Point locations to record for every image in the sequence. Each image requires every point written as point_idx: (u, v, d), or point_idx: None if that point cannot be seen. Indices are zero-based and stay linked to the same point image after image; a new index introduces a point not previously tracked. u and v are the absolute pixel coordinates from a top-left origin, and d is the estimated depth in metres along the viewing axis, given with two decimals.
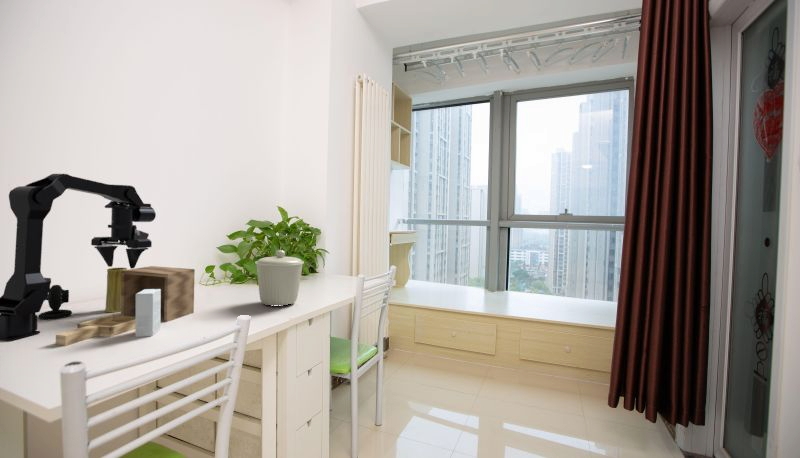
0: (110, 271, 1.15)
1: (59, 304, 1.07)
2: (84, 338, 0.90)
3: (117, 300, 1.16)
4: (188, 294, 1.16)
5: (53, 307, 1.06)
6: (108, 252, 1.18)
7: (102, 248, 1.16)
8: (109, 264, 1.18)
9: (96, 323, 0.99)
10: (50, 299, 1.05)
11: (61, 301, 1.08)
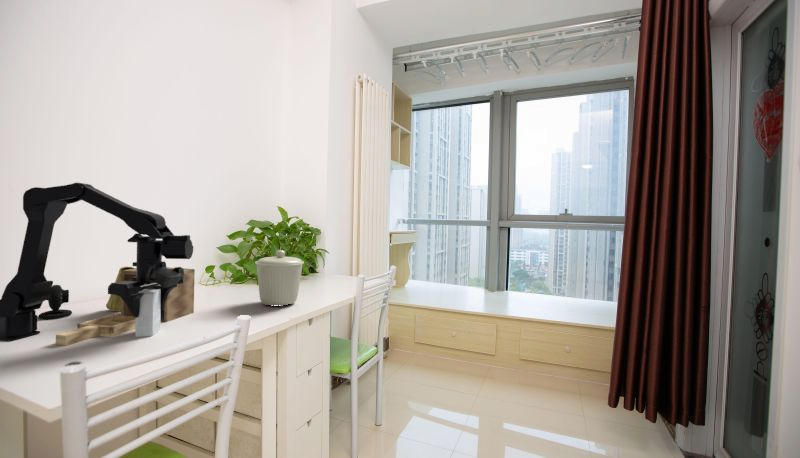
0: None
1: (59, 304, 1.07)
2: (84, 338, 0.90)
3: None
4: (188, 294, 1.16)
5: (53, 307, 1.06)
6: None
7: (154, 287, 1.01)
8: None
9: (96, 323, 0.99)
10: (50, 299, 1.05)
11: (61, 301, 1.08)
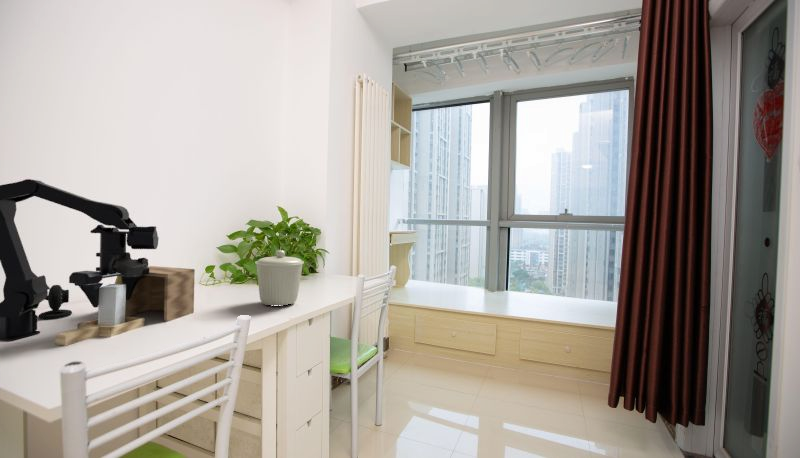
0: None
1: (59, 304, 1.07)
2: (84, 338, 0.90)
3: None
4: (188, 294, 1.16)
5: (53, 307, 1.06)
6: (127, 283, 1.03)
7: (122, 277, 1.04)
8: None
9: (96, 323, 0.99)
10: (50, 299, 1.05)
11: (61, 301, 1.08)
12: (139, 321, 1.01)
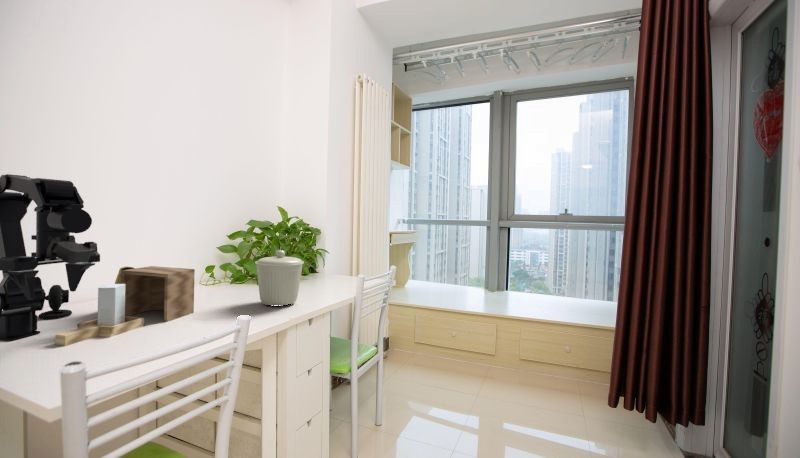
0: None
1: (59, 304, 1.07)
2: (84, 338, 0.90)
3: None
4: (188, 294, 1.16)
5: (53, 307, 1.06)
6: (72, 272, 0.89)
7: (67, 265, 0.89)
8: (70, 288, 0.88)
9: (96, 323, 0.99)
10: (50, 299, 1.05)
11: (61, 301, 1.08)
12: (139, 321, 1.01)
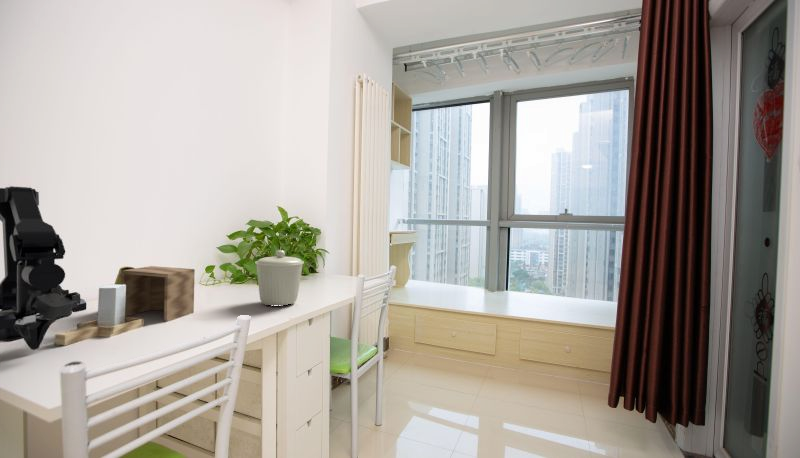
0: None
1: None
2: (83, 338, 0.90)
3: None
4: (188, 294, 1.16)
5: None
6: None
7: None
8: None
9: (96, 324, 0.99)
10: None
11: None
12: (139, 322, 1.01)
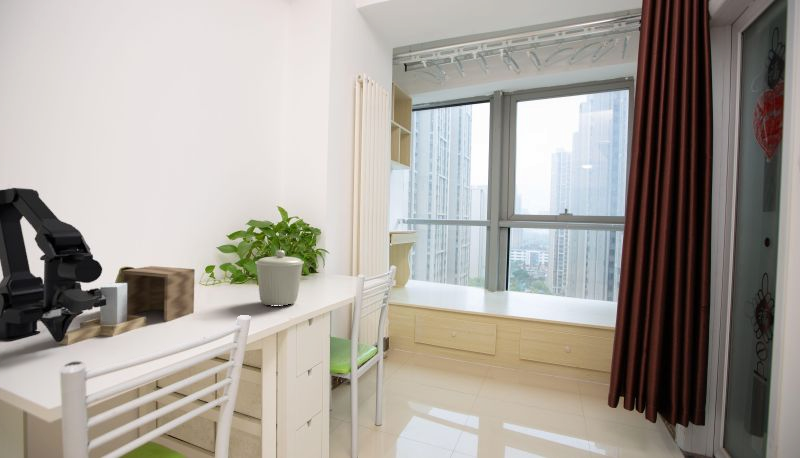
0: None
1: None
2: (86, 337, 0.91)
3: None
4: (188, 294, 1.16)
5: None
6: None
7: None
8: None
9: (98, 322, 1.00)
10: None
11: None
12: (141, 320, 1.02)
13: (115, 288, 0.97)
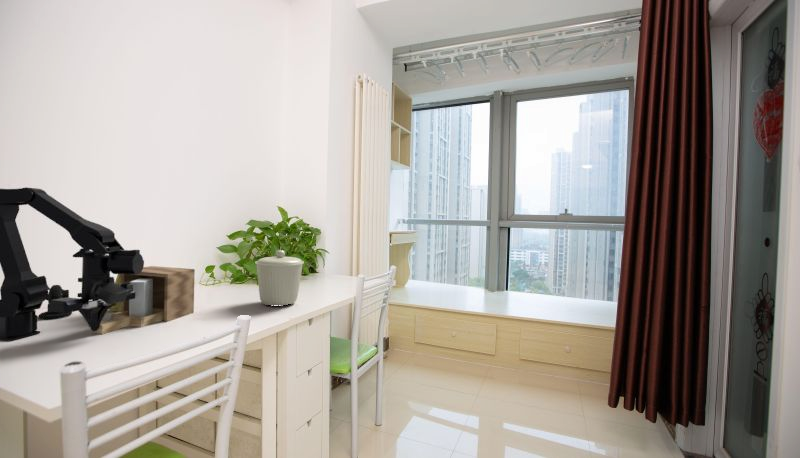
0: None
1: None
2: (118, 328, 0.99)
3: None
4: (188, 294, 1.16)
5: None
6: None
7: None
8: None
9: (127, 314, 1.08)
10: (50, 299, 1.05)
11: None
12: None
13: (142, 283, 1.05)
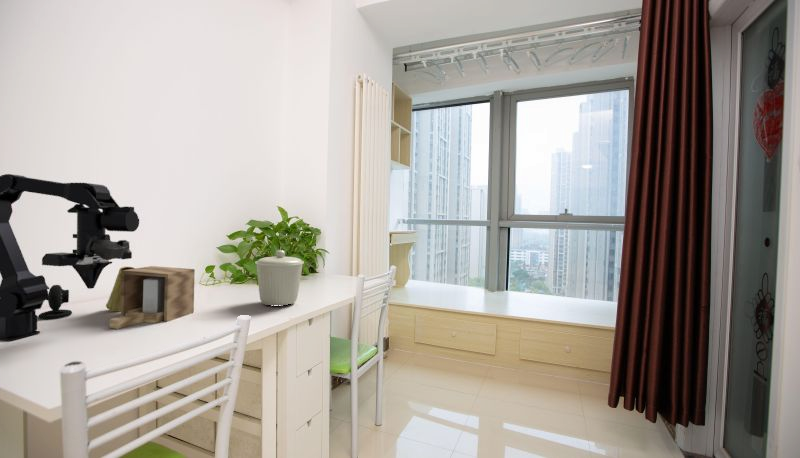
0: None
1: (59, 304, 1.07)
2: (132, 323, 1.04)
3: None
4: (188, 294, 1.16)
5: (53, 307, 1.06)
6: None
7: None
8: None
9: (140, 311, 1.13)
10: (50, 299, 1.05)
11: (61, 301, 1.08)
12: None
13: (156, 281, 1.09)
